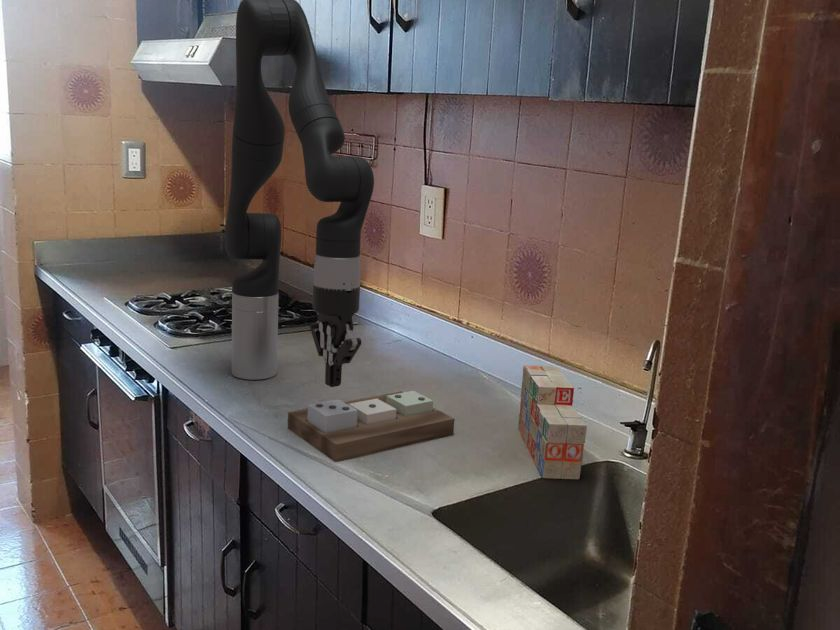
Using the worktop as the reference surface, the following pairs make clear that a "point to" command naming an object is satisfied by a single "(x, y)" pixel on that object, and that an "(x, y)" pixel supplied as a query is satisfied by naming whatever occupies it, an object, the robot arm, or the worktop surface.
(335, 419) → the key
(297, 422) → the key panel
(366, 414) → the key
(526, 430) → the stack of blocks
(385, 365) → the worktop surface
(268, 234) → the robot arm
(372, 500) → the worktop surface
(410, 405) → the key
